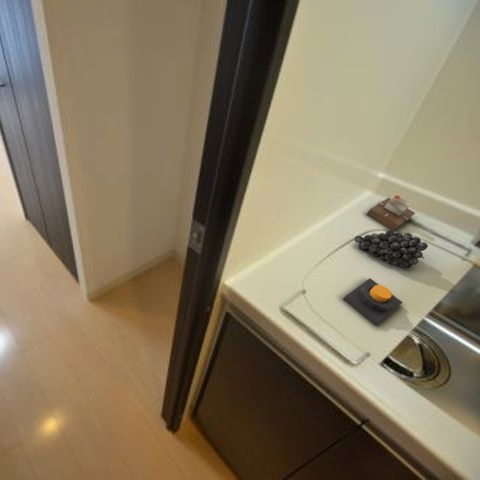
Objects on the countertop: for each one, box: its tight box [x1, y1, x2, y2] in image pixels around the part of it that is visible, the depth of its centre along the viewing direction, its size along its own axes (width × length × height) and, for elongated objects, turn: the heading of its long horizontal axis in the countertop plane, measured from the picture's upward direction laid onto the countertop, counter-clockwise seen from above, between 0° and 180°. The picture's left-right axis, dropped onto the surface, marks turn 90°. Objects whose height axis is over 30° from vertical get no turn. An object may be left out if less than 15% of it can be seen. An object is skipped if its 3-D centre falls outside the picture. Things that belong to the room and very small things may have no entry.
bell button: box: [369, 284, 393, 302], centre depth 74 cm, size 4×4×2 cm
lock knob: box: [384, 194, 412, 216], centre depth 94 cm, size 4×2×4 cm, turn 33°
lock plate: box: [365, 197, 416, 231], centre depth 96 cm, size 10×9×3 cm
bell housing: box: [342, 277, 403, 326], centre depth 76 cm, size 10×8×4 cm
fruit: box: [353, 229, 429, 269], centre depth 85 cm, size 9×8×15 cm
